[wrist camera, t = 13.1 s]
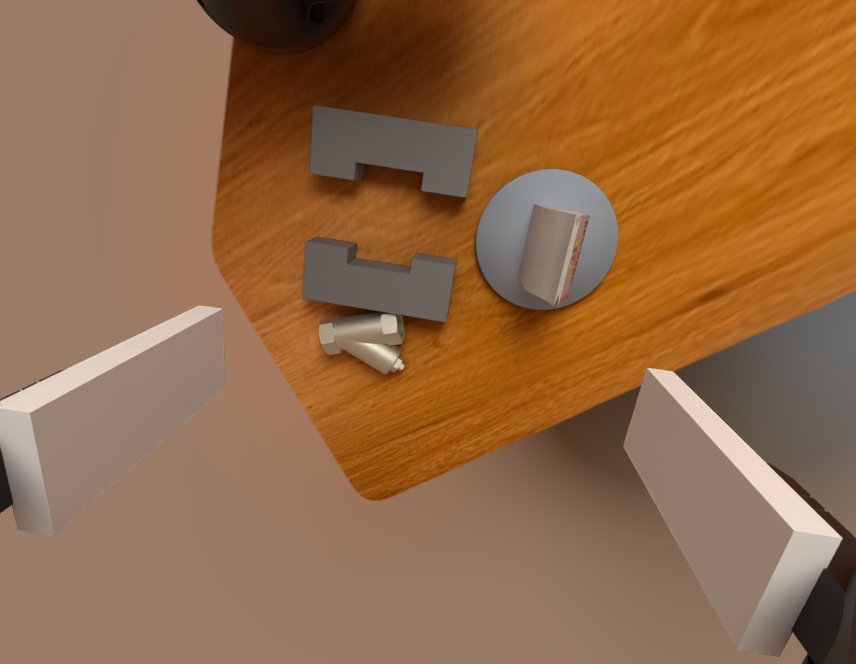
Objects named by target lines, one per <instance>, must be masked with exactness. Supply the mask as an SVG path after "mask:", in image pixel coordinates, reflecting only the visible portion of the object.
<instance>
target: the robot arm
mask: <svg viewBox="0 0 856 664" xmlns="http://www.w3.org/2000/svg"><path fill="white" fill-rule="evenodd" d="M197 1H198V3H199V4H200V6H201V7H202V8H203V10H204V11H205V12H206V13H207V14H208V16H210V18H211V19H212V20H213V21H214V22H215V23H216V24H217V25H219V26H220V27H221V28H222V29H223V30H225V31H226V32H227V33H229V34H230V35H232V36H233V37H235V38H236V39H238V40H240V41H241V42H243V43H245V44H247V45H248V46H251V47H253V48H255V49H258V50H260V51H264V52H267V53H273V54H294V53H299V52H303V51H306V50H309V49H311V48H314V47H316V46H317V45H319V44H321V43H322V42H324V41H325V40H327V39H328V38H329V37H330V36H332V35H333V34H334V33H335V32H336V31H337V30H338V29H339V27H340V26H341V25H342V24H343V23H344V21H345V20H346V18H347V17H348V15H349V14H350V12H351V10H352V8H353V6H354V4H355V2H356V0H197ZM225 387H226V380H225V352H224V326H223V309H222V308H214V307H208V306H200V305H199V306H197V307H195V308H193V309H191V310H189V311H186V312H184V313H182V314H180V315H178V316H176V317H174V318H172V319H170V320H168V321H166V322H164V323H162V324H159V325H157V326H155V327H153V328H151V329H149V330H147V331H145V332H143V333H141V334H139V335H136V336H135V337H132V338H130V339H128V340H126V341H124V342H122V343H120V344H118V345H116V346H114V347H112V348H109V349H108V350H105V351H103V352H101V353H99V354H97V355H95V356H93V357H91V358H89V359H87V360H85V361H83V362H80V363H78V364H76V365H74V366H72V367H70V368H68V369H64V370H61V371H58V372H56V373H54V374H52V375H50V376H48V377H46V378H44V379H42V380H40V381H39V383H33V384H31V385H29V386H27V387H25V388H23V390H22V391H17V392H14V393H12V394H10V395H8V396H6V397H4V398H2V399H0V513H1V512H3V511H4V510H5V509H7V508H8V507H10V506H11V505H12V507H13V512H14V516H15V520H16V524H17V529H18V530H23V531H29V532H35V533H41V534H47V535H53V536H55V535H56V534H57V533H58V532H60V531H61V530H62V529H63V528H64V527H65V526H66V525H68V524H69V523H70V522H71V521H72V520H73V519H75V517H77V516H78V515H79V514H80V513H81V512H82V511H83V510H85V509H86V508H87V507H88V506H89V505H91V504H92V503H93V502H94V501H95V500H96V499H97V498H99V497H100V496H101V495H102V494H103V493H104V492H106V491H107V490H108V489H109V488H110V487H111V486H112V485H114V484H115V483H116V482H117V481H118V480H119V479H121V478H122V477H123V476H124V475H125V474H126V473H128V472H129V471H130V470H131V469H132V468H133V467H134V466H136V465H137V464H138V463H139V462H140V461H141V460H143V458H145V457H146V456H147V455H148V454H149V453H151V452H152V451H153V450H154V449H155V448H156V447H158V446H159V445H160V444H161V443H162V442H163V441H164V440H166V439H167V438H168V437H169V436H170V435H171V434H173V433H174V432H175V431H176V430H177V429H178V428H179V427H181V426H182V425H183V424H184V423H185V422H186V421H188V420H189V419H190V418H191V417H192V416H193V415H195V413H197V412H198V411H199V410H200V409H201V408H203V407H204V406H205V405H206V404H207V403H208V402H210V401H211V399H213V398H214V397H215V396H216V395H217V394H219V393H220V392H221V391H222V390H223V389H225ZM623 447H624V449H625V450H626V452H627V454H628V456H629V458H630V459H631V461H632V463H633V464H634V467H635V468H636V470H637V472H638V474H639V475H640V477H641V479H642V481H643V483H644V485H645V486H646V488H647V490H648V492H649V493H650V495H651V497H652V499H653V501H654V502H655V504H656V506H657V508H658V510H659V511H660V513H661V515H662V517H663V519H664V520H665V522H666V524H667V526H668V528H669V529H670V531H671V533H672V535H673V537H674V538H675V540H676V542H677V544H678V546H679V547H680V549H681V551H682V553H683V555H684V556H685V558H686V560H687V562H688V564H689V565H690V567H691V568H692V570H693V573H694V574H695V576H696V577H697V580H698V582H699V583H700V585H701V587H702V589H703V590H704V592H705V594H706V596H707V598H708V600H709V601H710V603H711V605H712V607H713V608H714V610H715V612H716V614H717V615H718V618H719V619H720V621H721V623H722V625H723V626H724V628H725V630H726V632H727V634H728V635H729V637H730V639H731V641H732V643H733V644H734V646H735V648H736V650H741V651H747V652H752V653H758V654H764V655H771V656H776V657H780V655H781V653H782V651H783V649H784V647H785V645H786V644H787V642H788V640H789V638H790V636H791V634H792V632H793V633H794V634H795V636H796V637H797V639H798V640H799V641H800V643H801V644H802V646H803V647H804V648H805V650H806V651H807V653H808V654H807V656H806V657H805V659H804V661H803V663H802V664H856V538H855V537H854V536H853V535H852V534H851V533H850V532H849V531H848V530H847V529H846V528H844V526H842V525H841V524H840V523H839V522H838V521H837V520H836V519H835V518H834V517H833V516H832V515H831V514H830V513H829V512H825V511H824V508H823V507H822V506H821V505H820V504H819V503H818V502H817V501H816V500H815V499H814V498H810V494H809V493H808V492H807V491H806V490H804V489H803V488H802V487H801V486H800V485H799V484H798V483H797V482H796V481H795V480H794V479H793V478H791V477H790V476H788V475H787V474H785V473H783V472H782V471H780V470H779V469H777V468H776V467H774V466H773V465H771V464H769V463H765V462H764V461H763V460H762V459H761V458H760V457H759V456H758V455H757V454H756V453H755V452H754V451H753V450H752V449H751V448H750V447H749V446H748V445H747V444H746V443H745V442H744V441H743V440H742V439H741V438H740V437H739V436H738V435H737V434H736V433H735V432H734V431H733V430H732V429H730V427H729V426H728V425H727V424H726V423H725V422H724V421H723V420H722V419H721V418H720V417H719V416H718V415H716V413H714V411H712V410H711V409H710V408H709V407H708V406H707V405H706V404H705V403H704V402H703V401H702V400H701V399H700V398H699V397H698V396H697V395H696V394H695V393H694V392H693V391H692V390H691V389H690V388H689V387H688V386H687V385H686V384H685V383H684V382H683V381H682V380H681V379H680V378H679V377H678V376H677V375H676V374H675V373H674V372H672V371H665V370H658V369H651V368H647V369H646V373H645V376H644V379H643V383H642V386H641V389H640V393H639V396H638V399H637V402H636V406H635V409H634V412H633V416H632V419H631V422H630V426H629V429H628V432H627V436H626V439H625V442H624V446H623Z"/></svg>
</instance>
